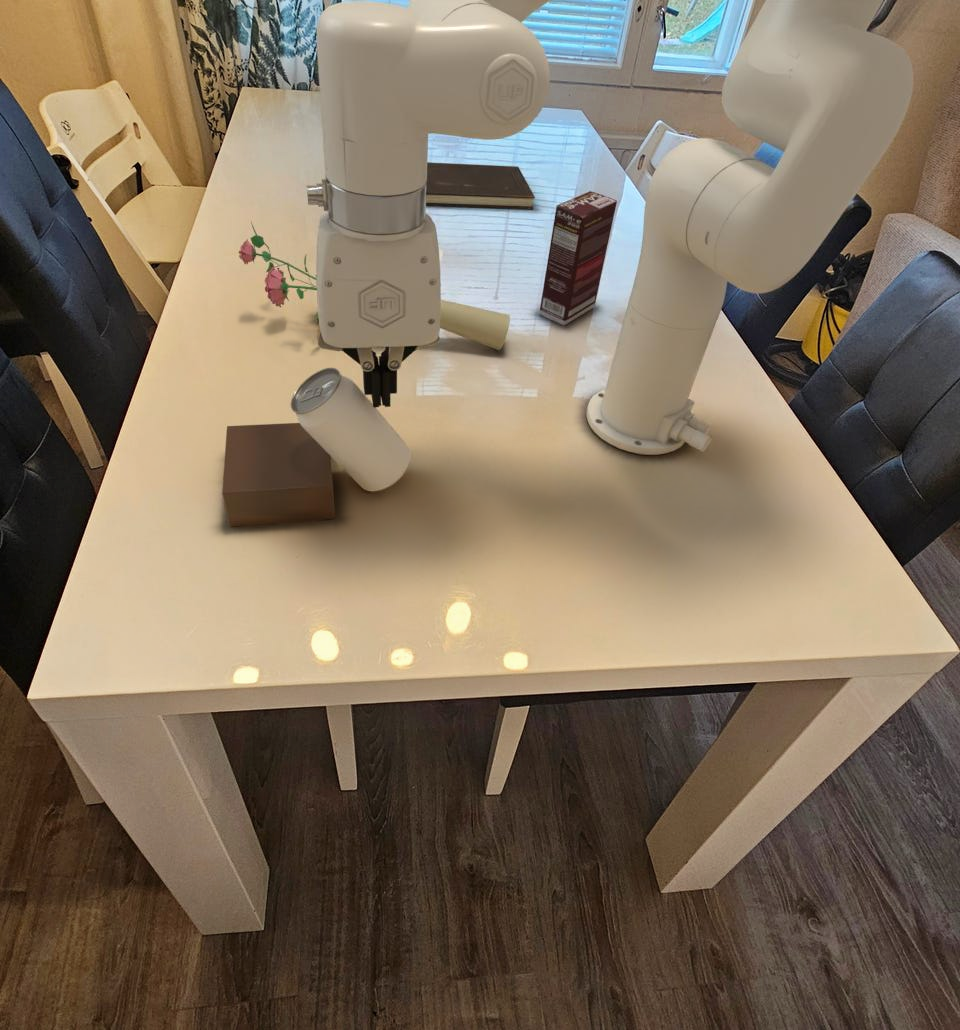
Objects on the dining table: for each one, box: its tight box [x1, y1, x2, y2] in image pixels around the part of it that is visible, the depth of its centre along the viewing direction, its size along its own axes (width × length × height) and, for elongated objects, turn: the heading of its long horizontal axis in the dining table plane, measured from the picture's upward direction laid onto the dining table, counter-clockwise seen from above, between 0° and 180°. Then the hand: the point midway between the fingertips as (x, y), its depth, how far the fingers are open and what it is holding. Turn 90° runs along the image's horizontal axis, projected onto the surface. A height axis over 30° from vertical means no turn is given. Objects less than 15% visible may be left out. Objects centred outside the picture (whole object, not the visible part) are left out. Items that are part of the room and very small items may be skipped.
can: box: [290, 367, 412, 492], centre depth 69 cm, size 6×6×12 cm
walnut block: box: [221, 422, 336, 527], centre depth 71 cm, size 10×10×4 cm
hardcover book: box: [426, 161, 536, 210], centre depth 133 cm, size 16×23×2 cm
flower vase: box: [238, 221, 511, 351], centre depth 92 cm, size 12×12×35 cm
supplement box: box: [538, 190, 618, 326], centre depth 99 cm, size 9×5×16 cm, turn 141°
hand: (380, 398), depth 67 cm, fingers closed
